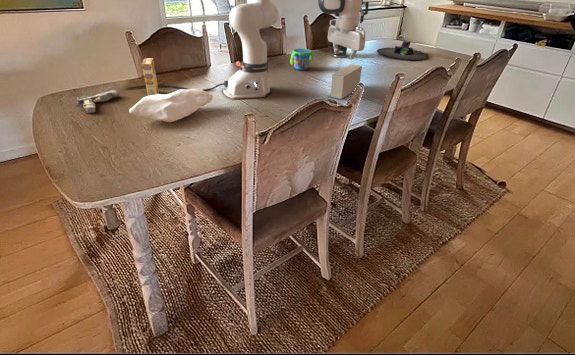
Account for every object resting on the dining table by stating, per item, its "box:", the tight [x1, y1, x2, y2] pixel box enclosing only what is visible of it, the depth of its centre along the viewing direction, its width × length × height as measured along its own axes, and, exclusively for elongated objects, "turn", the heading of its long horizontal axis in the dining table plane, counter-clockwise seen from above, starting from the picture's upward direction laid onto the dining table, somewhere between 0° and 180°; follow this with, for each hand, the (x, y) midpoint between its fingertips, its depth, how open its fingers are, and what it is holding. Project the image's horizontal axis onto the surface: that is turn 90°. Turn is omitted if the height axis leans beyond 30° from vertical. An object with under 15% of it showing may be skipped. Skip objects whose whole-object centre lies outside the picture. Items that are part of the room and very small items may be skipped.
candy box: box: [141, 57, 160, 96], centre depth 163 cm, size 9×4×15 cm, turn 13°
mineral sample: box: [376, 40, 430, 61], centre depth 247 cm, size 35×35×9 cm
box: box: [330, 63, 363, 100], centre depth 178 cm, size 22×6×11 cm, turn 149°
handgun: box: [76, 89, 120, 114], centre depth 155 cm, size 3×18×15 cm
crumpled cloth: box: [129, 88, 214, 123], centre depth 147 cm, size 24×35×9 cm
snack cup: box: [289, 48, 314, 71], centre depth 208 cm, size 16×10×10 cm
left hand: (343, 56), depth 165 cm, fingers open, 8 cm apart
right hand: (352, 22), depth 191 cm, fingers open, 8 cm apart
